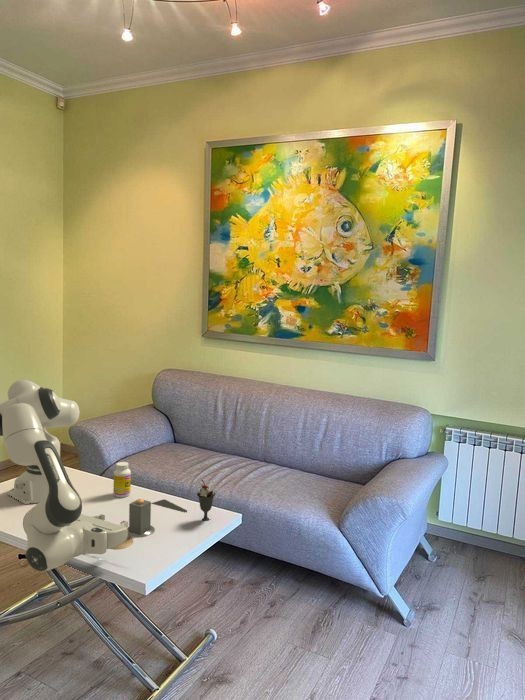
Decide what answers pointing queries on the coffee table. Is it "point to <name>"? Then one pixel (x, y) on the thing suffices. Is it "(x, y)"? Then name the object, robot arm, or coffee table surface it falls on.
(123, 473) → the supplement bottle
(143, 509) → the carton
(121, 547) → the coaster
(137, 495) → the coffee table surface
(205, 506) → the sundae
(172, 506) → the smartphone
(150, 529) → the grey knobbed dome
